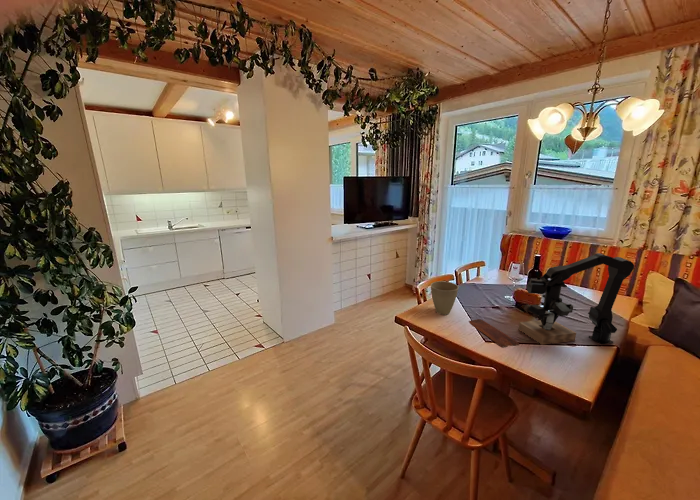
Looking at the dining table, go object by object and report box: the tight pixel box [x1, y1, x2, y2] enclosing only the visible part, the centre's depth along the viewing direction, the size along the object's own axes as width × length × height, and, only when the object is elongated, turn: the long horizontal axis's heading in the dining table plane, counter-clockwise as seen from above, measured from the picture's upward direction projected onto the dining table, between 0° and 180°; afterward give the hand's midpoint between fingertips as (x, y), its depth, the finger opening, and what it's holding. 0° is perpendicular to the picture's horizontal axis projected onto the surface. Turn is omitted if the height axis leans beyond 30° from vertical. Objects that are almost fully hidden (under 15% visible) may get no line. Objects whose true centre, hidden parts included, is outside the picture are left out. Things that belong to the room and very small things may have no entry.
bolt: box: [520, 303, 539, 318], centre depth 161 cm, size 6×5×15 cm
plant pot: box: [430, 280, 460, 316], centre depth 163 cm, size 15×15×16 cm
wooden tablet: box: [468, 318, 520, 348], centre depth 143 cm, size 27×10×2 cm, turn 13°
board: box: [518, 319, 577, 346], centre depth 139 cm, size 18×14×4 cm
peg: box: [543, 311, 554, 330], centre depth 138 cm, size 4×4×8 cm
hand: (547, 325), depth 138 cm, fingers closed on peg, 4 cm apart
